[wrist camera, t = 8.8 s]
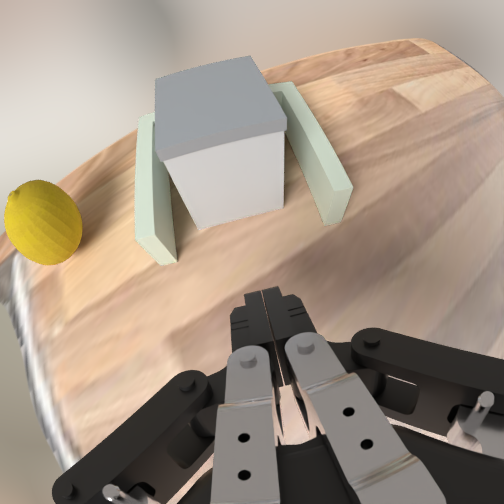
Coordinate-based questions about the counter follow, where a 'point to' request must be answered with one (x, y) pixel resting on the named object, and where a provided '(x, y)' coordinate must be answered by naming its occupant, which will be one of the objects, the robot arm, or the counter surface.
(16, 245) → the lemon
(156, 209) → the bay
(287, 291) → the counter surface
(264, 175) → the lidded grey box
